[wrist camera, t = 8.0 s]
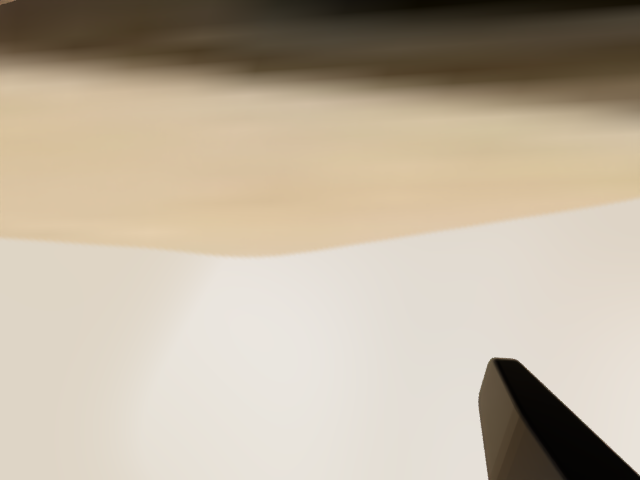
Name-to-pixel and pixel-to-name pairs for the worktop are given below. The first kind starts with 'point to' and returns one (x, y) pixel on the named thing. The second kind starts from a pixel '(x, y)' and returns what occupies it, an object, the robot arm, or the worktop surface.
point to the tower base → (5, 1)
